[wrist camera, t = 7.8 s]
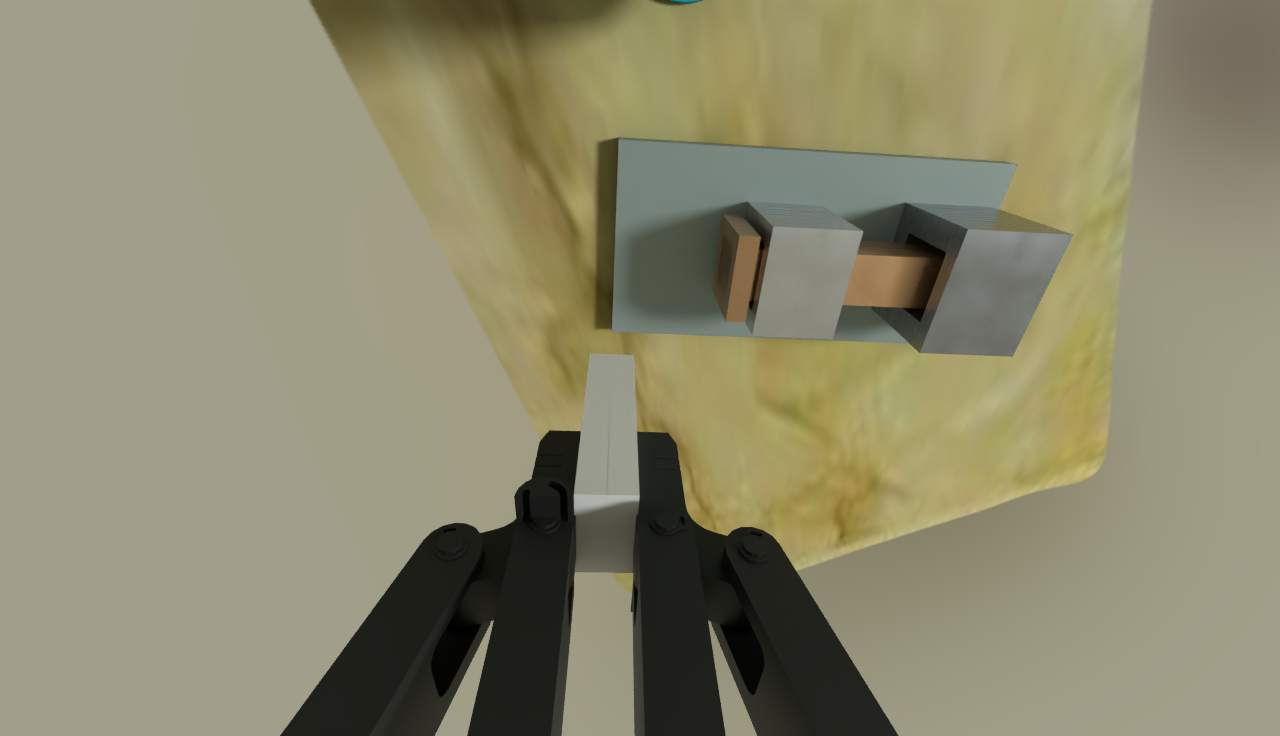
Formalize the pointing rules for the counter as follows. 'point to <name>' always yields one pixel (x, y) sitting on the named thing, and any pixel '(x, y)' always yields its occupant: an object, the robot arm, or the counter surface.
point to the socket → (976, 278)
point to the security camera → (685, 1)
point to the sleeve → (800, 269)
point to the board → (722, 184)
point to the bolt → (875, 280)
